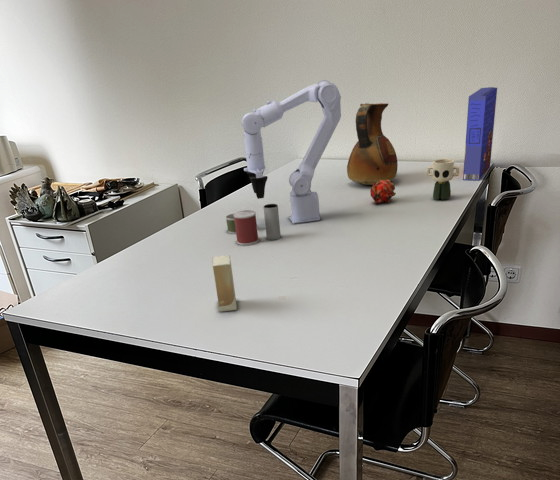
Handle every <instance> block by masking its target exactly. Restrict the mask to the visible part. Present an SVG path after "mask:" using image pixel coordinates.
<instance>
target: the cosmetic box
mask: <svg viewBox="0 0 560 480" xmlns="http://www.w3.org/2000/svg"><path fill="white" fill-rule="evenodd" d="M211 262H212V270H213V276H214V277H213V278H214V284H215V289H216V297H217V304H218V309H219V312H221V313H222V312H229V311H230V312H231V311H236V310H238V309H237V308H238V306H237V297H236V289H235V281H234V276H233V275H234V273H233V268H232V260H231V255H230V254H226V255H220V256H219V255H218V256H213V257H212V261H211Z"/></svg>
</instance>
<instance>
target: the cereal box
mask: <svg viewBox="0 0 560 480" xmlns="http://www.w3.org/2000/svg"><path fill="white" fill-rule="evenodd" d="M497 95H498V87H494V86H490V87H489V86H488V87H481V88H479V89H478V90H476V91H475V92H472V94H470V95H469V96H468V102H467V115H466V116H467V118H466V131H465V144H464V145H465V146H464V159H463V174H462V175H463V177H462V180H463V181H480V180H481V178H482V177H483V176H484V175H485V174H486V173H487V171H488V170H489V169H490V168H491V161H492V150H493V141H494V140H493V139H494V130H495V129H494V128H495V119H496V107H497V106H496V105H497Z"/></svg>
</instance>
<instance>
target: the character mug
mask: <svg viewBox="0 0 560 480" xmlns="http://www.w3.org/2000/svg"><path fill="white" fill-rule="evenodd" d="M426 169H427V170H426V175H427V176H428V177H432V180H433V181H435V182H434V186H433V192H432V199H435V200H440V199H441V200H448V199H451V197H452V196H451V195H452V191H451V183H450V181H452V180H453V178H454V177H458V176H459V175H460V166H458V165H455V160H454V159H451V158H438V159H434V160H433V161H432V165H428V166H427V167H426ZM431 170H432V172H431ZM454 170H455V172H454Z"/></svg>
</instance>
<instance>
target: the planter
mask: <svg viewBox="0 0 560 480" xmlns="http://www.w3.org/2000/svg"><path fill="white" fill-rule="evenodd" d="M279 214H280V213H279V205H278V203H277V204H276V203H269V204H265V205H263V215H264V225H265V235H266V236H265V237H266V239H267V240H270V241H276V240H279V239H280V238H281V236H282V235H281V226H280V215H279Z"/></svg>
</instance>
